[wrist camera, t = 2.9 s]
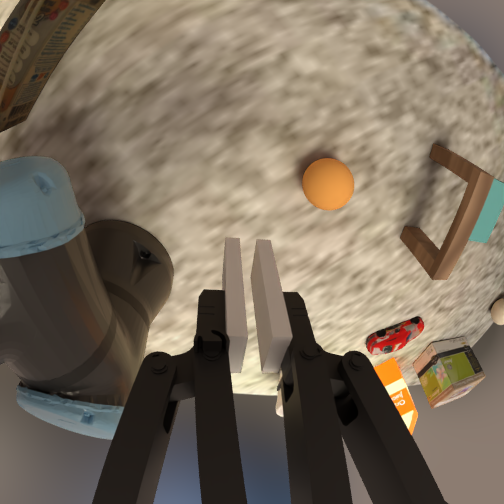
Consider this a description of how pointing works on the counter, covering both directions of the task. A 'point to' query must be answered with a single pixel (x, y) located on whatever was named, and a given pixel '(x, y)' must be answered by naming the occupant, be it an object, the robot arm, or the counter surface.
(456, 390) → the tea box
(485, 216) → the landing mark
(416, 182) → the counter surface
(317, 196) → the ball
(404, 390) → the orange juice
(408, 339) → the race car
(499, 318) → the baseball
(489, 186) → the bridge
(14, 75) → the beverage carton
